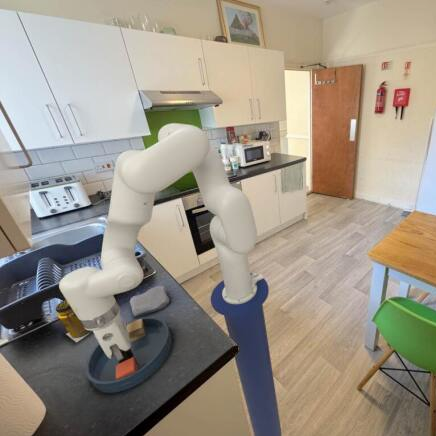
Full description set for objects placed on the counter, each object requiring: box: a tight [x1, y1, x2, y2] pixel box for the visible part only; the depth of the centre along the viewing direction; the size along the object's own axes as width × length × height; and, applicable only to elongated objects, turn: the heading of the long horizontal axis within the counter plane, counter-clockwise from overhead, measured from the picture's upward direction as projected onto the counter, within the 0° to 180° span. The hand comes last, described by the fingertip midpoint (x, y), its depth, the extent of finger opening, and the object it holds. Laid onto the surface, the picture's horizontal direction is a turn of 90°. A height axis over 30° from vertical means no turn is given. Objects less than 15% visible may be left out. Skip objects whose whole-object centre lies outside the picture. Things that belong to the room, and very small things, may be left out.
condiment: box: [55, 299, 93, 343], centre depth 76 cm, size 7×8×12 cm
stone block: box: [129, 285, 170, 317], centre depth 86 cm, size 12×5×10 cm
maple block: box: [127, 318, 146, 342], centre depth 74 cm, size 4×4×4 cm
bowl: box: [85, 316, 173, 394], centre depth 69 cm, size 20×20×4 cm
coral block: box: [116, 357, 138, 380], centre depth 63 cm, size 4×4×4 cm
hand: (127, 359), depth 67 cm, fingers closed
